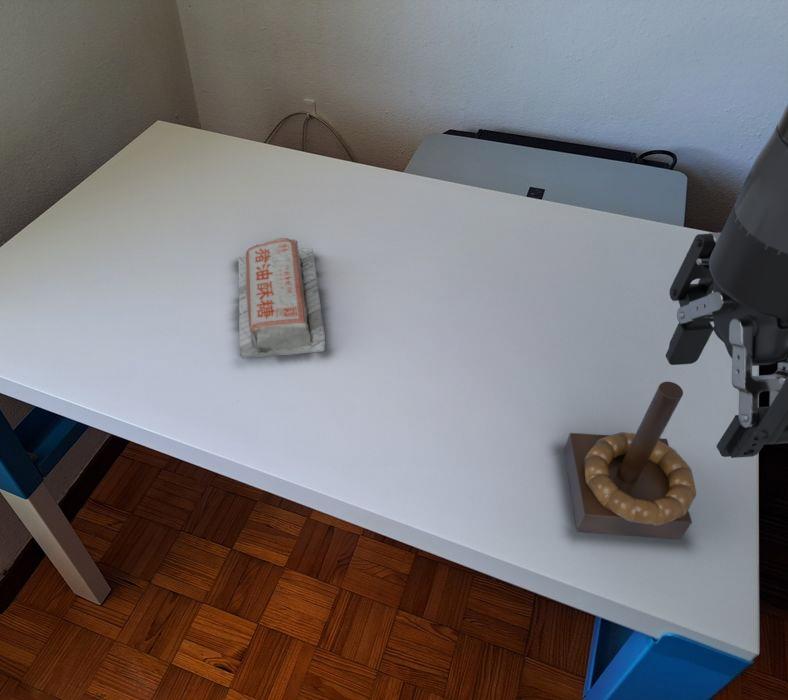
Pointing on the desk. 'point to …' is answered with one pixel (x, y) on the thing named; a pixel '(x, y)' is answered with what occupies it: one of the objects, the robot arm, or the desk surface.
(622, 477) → the peg stand
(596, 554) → the desk surface
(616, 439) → the segmented donut ring
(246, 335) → the packaged product
